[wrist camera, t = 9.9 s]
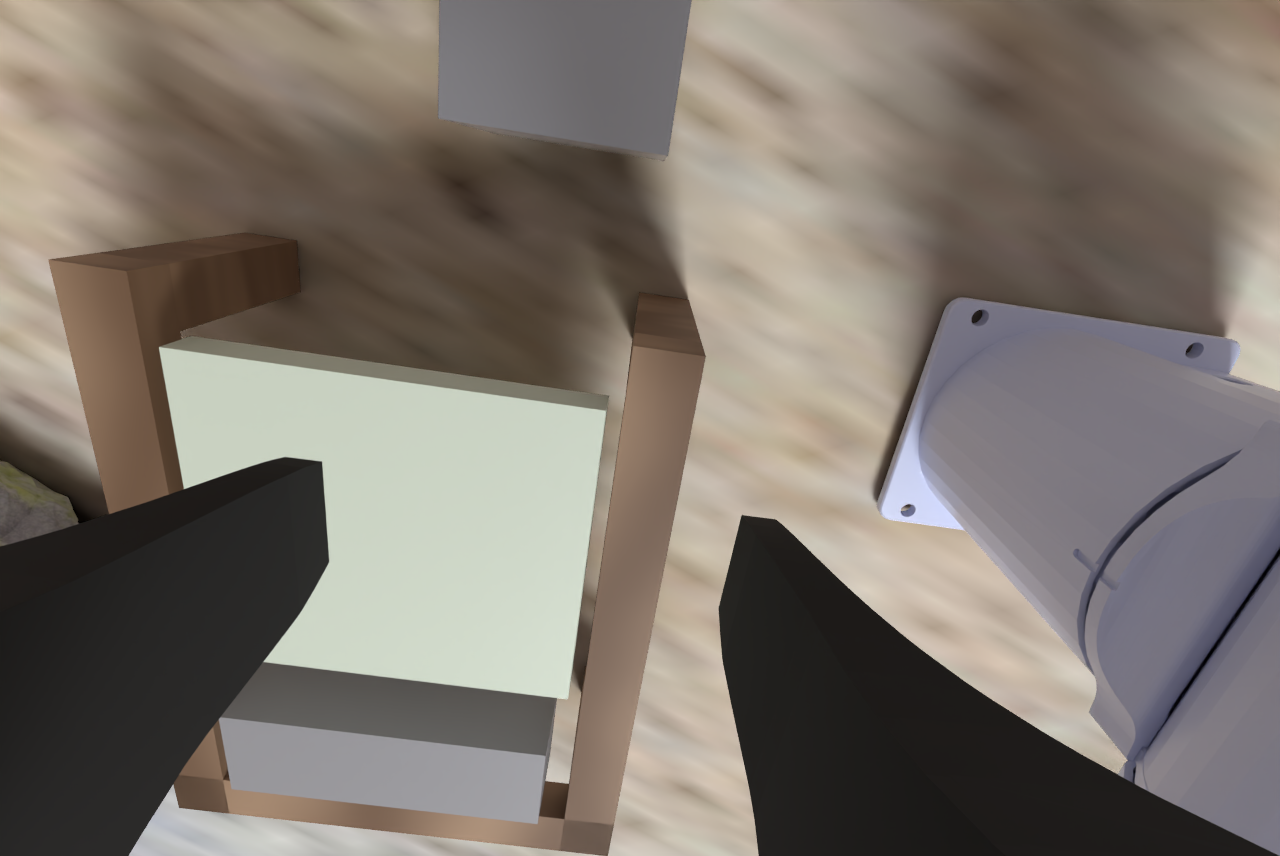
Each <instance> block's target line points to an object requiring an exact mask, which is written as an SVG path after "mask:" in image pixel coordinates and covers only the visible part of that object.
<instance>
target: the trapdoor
mask: <svg viewBox="0 0 1280 856" xmlns="http://www.w3.org/2000/svg"><path fill="white" fill-rule="evenodd" d="M159 351H160V357H161V362H162V368H163V374H164V379H165V385H166V390H167V396H168V402H169V407H170V413H171V419H172V424H173V430H174V436H175V441H176V447H177V452H178V458H179V464H180V469H181V475H182V481H183V486H184V489H186V488H189V487H192V486H194V485H197V484H200V483H203V482H206V481H209V480H212V479H215V478H217V477H220V476H223V475H226V474H229V473H232V472H235V471H238V470H241V469H244V468H247V467H250V466H253V465H256V464H260V463H263V462H266V461H270V460H274V459H278V458H282V457H290V458H298V459H306V460H314V461H322V467H323V481H324V495H325V509H326V523H327V536H328V550H329V564H328V566H327V567H326V569H325V571H324V573H323V575H322V577H321V578H320V580H319V582H318V584H317V586H316V587H315V589H314V591H313V593H312V594H311V596H310V598H309V599H308V601H307V603H306V605H305V606H304V608H303V610H302V611H301V613H300V614H299V616H298V617H297V618H296V620H295V621H294V622H293V624H292V625H291V626H290V628H289V629H288V630H287V632H286V633H285V634H284V636H283V637H282V638H281V640H280V641H279V642H278V644H277V645H276V646H275V647H274V649H273V650H272V651H271V653H270V654H269V655H268V657H267V658H266V659H265V660H264V662H263V663H262V664H261V666H260V667H259V668H258V669H257V671H256V672H255V673H254V675H253V676H252V677H251V678H250V680H249V681H248V682H247V684H246V685H245V686H244V687H243V689H242V690H241V691H240V693H239V694H238V695H237V696H236V698H235V699H234V700H233V702H232V703H231V704H230V706H229V707H228V708H227V709H226V711H225V712H224V713H223V715H222V716H221V717H220V718H219V723H220V729H221V734H222V740H223V745H224V750H225V756H226V761H227V767H228V772H229V778H230V783H231V789H234V790H243V791H252V792H261V793H269V794H278V795H287V796H296V797H304V798H313V799H322V800H331V801H339V802H348V803H357V804H366V805H374V806H383V807H392V808H401V809H409V810H418V811H427V812H436V813H444V814H453V815H462V816H471V817H479V818H488V819H497V820H506V821H514V822H523V823H532V824H538V819H539V813H540V807H541V802H542V796H543V790H544V785H545V779H546V773H547V768H548V762H549V756H550V749H551V741H552V733H553V725H554V717H555V709H556V701H557V698H560V699H568V695H569V689H570V683H571V677H572V670H573V663H574V655H575V648H576V640H577V633H578V625H579V618H580V610H581V603H582V595H583V588H584V580H585V573H586V565H587V558H588V550H589V543H590V535H591V528H592V520H593V513H594V505H595V498H596V490H597V483H598V475H599V468H600V460H601V453H602V445H603V438H604V430H605V423H606V416H607V408H608V401H609V396H606V395H599V394H592V393H585V392H578V391H571V390H564V389H557V388H550V387H543V386H536V385H529V384H522V383H515V382H509V381H502V380H495V379H488V378H481V377H474V376H467V375H460V374H453V373H446V372H439V371H432V370H425V369H418V368H411V367H404V366H397V365H390V364H383V363H376V362H369V361H362V360H355V359H348V358H342V357H335V356H328V355H321V354H314V353H307V352H300V351H293V350H286V349H279V348H272V347H265V346H258V345H251V344H244V343H237V342H230V341H223V340H216V339H209V338H202V337H195V336H189V337H186V338H184V339H181V340H178V341H175V342H172V343H169V344H166V345H163V346H160V347H159Z"/></svg>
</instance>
